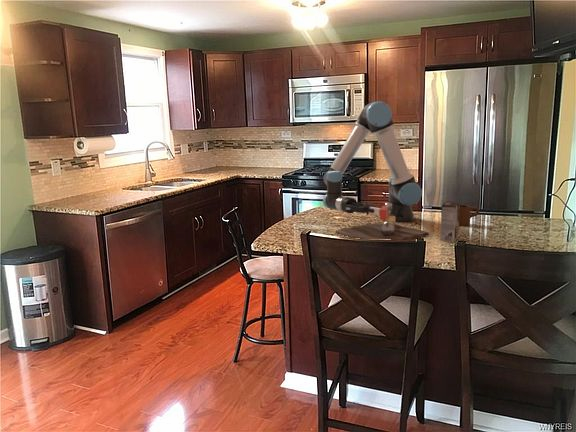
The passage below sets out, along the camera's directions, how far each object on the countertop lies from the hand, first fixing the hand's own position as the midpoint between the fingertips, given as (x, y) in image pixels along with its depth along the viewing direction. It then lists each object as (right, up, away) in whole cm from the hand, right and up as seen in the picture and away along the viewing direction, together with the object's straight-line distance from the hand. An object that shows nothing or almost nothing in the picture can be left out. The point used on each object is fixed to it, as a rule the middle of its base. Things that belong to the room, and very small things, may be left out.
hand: (380, 211), depth 207 cm
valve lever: (+3, -1, +4) cm, 5 cm away
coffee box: (+31, -12, +1) cm, 33 cm away
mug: (+49, -6, +27) cm, 56 cm away
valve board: (+3, -11, +12) cm, 16 cm away
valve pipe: (+7, -10, +15) cm, 19 cm away
